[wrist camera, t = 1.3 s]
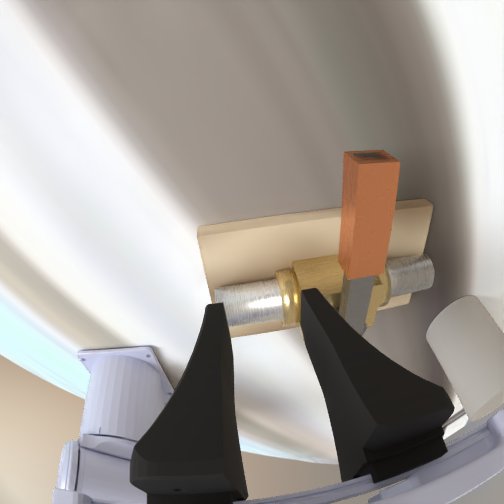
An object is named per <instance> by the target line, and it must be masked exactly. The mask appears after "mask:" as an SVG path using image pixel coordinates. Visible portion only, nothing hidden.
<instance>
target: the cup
mask: <svg viewBox="0 0 504 504" xmlns="http://www.w3.org/2000/svg"><path fill="white" fill-rule="evenodd" d="M426 339H427V341H428V343H429V345H430V346H431V348H432V350H433V352H434V353H435V355H436V357H437V359H438V360H439V362H440V364H441V366H442V368H443V369H444V371H445V373H446V375H447V377H448V379H449V381H450V382H451V384H452V386H453V388H454V390H455V392H456V394H457V396H458V398H459V400H460V402H461V404H462V406H463V408H464V410H465V412H466V414H467V416H468V418H469V420H470V421H471V422H472V421H476V420H478V419H480V418H482V417H484V416H486V415H487V414H489V413H491V412H492V411H494V410H495V409H497V408H498V407H499V406H501V405H502V404H503V403H504V333H503V332H502V331H501V329H500V328H499V326H498V325H497V324H496V322H495V321H494V320H493V318H492V317H491V315H490V314H489V313H488V311H487V310H486V309H485V307H484V306H483V305H482V304H481V302H480V301H479V300H478V298H477V297H475V296H472V295H470V296H465V297H462V298H460V299H458V300H456V301H454V302H453V303H451V304H450V305H448V306H447V307H446V308H445V309H444V310H442V311H441V312H440V313H439V314H438V315H437V317H436V318H435V319H434V320H433V322H432V323H431V325H430V326H429V328H428V330H427V334H426Z"/></svg>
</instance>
